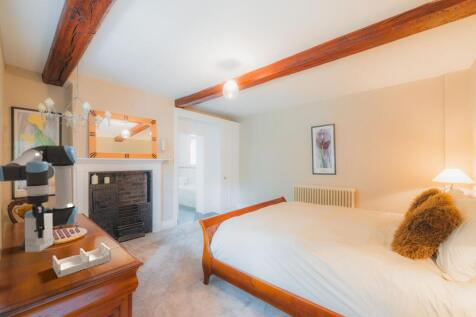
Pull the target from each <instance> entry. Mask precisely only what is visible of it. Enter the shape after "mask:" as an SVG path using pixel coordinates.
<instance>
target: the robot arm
mask: <svg viewBox="0 0 476 317" xmlns="http://www.w3.org/2000/svg"><path fill="white" fill-rule="evenodd" d="M77 157H78V156H77V152H76V149H75V148H74V147H73V146H72V145H47V144H44V145H43V144H42V145H37V146H34V147H30V148H28V149H26V150H24V151H23V152H22V153H21V155H20V156H18V157H16V158H15V159H13V160H11V161H10V162H9V163H7V164H5V165H1V164H0V182H2V183H3V182H4V183H5V182H17V181H19V182H20V181H26V184H25V185H26V188H24V191H26V204H27V205H32V207H31V210H28V211H27V212H25V213H24V218H23V219H24V221H25V218H28V217H31V216H34V217H35V218H36V230H34V232H36V246H38V245H43V244H44V230H45V227H44V213H52V227H53V228H54V227H60V226H63V227H64V226H69V225H73V224H76V220H77V217H78V211H79V209H78V208H79V207H78V206H76V204H75V203H74V202H73V192H72V190H73V189H72V188H73V187H72V168H73V167H74V166H75V165H74V164H77V161H78V160H77V159H78V158H77ZM53 177H54V191H55V192H54V195H55V204H54V205H53V206H52V208H50V207H49V206H44V205H43V204H45V203H48V202H49V201H50V200H49V194H48V193H49V192H50V191H49V185H50V184H49V179H52V178H53ZM40 227H42V228H40ZM20 250H25V235H24V236H23V239H22V241H21V244H20Z"/></svg>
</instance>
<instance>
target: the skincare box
mask: <svg viewBox="0 0 476 317" xmlns="http://www.w3.org/2000/svg"><path fill="white" fill-rule="evenodd" d="M24 219H25V220H24V236H25V251H24V252H25V253H35V252H36V253H37V252H42V251H43V250H45V249H47V248H49V247H51V246H52V245H53V244H54V236H53V233H54V232H53V228H54V227H52V213H44V227H45V230H44V244H43V245H38V246H36V232H34V230H36V218H35V217H34V216H31V217H28V218H25V217H24ZM40 228H42V227H40Z"/></svg>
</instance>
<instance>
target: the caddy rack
mask: <svg viewBox="0 0 476 317" xmlns="http://www.w3.org/2000/svg"><path fill="white" fill-rule="evenodd" d="M111 261H112V249H111V247H109V246H107V245H106V244H105V243H104V242H100V247H99V248H95V249H92V250H90V251H89V250H88V251H85V250H84V248H83V247H82V248H80V247H79V254H76V255H71V256H69V257H65V258H61V259H58V258H57V256H56V255H52V269H53V270H54V272H55V274H56V276H57V277H58V278H62V277H65V276H68V275H71V274H74V273H77V272H80V270H81V271H83V269H84V270H86V269H90V268H92V267H95V265H96V266H98V265H101V264H105V263H109V262H111Z"/></svg>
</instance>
